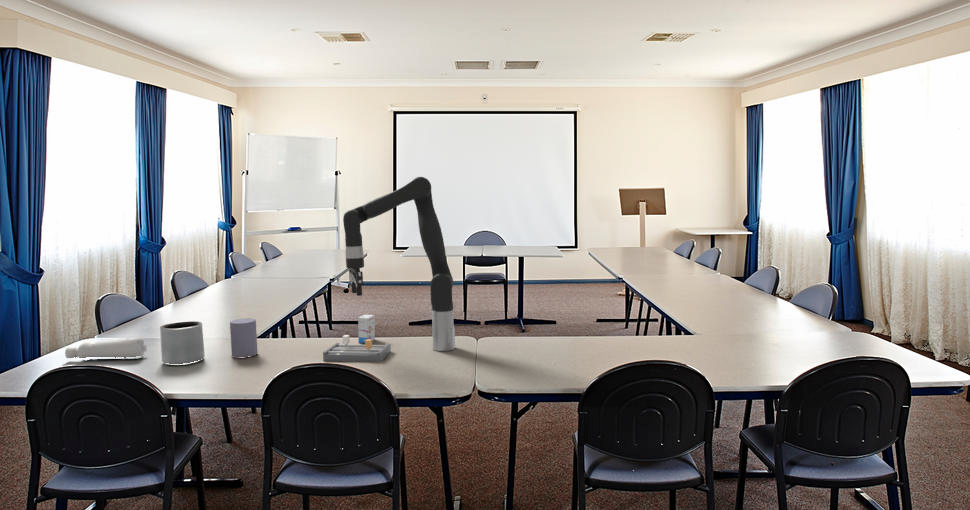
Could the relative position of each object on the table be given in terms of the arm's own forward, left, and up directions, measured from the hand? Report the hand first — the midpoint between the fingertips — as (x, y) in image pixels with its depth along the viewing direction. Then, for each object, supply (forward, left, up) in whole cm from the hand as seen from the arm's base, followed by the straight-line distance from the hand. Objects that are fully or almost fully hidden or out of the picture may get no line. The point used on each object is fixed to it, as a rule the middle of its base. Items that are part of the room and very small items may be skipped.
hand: (356, 294), depth 275 cm
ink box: (+2, -19, -25) cm, 31 cm away
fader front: (-8, +11, -22) cm, 26 cm away
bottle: (+103, +20, -25) cm, 108 cm away
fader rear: (+4, +4, -22) cm, 23 cm away
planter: (+68, +20, -25) cm, 76 cm away
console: (-2, +7, -25) cm, 26 cm away
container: (+47, +9, -25) cm, 54 cm away
